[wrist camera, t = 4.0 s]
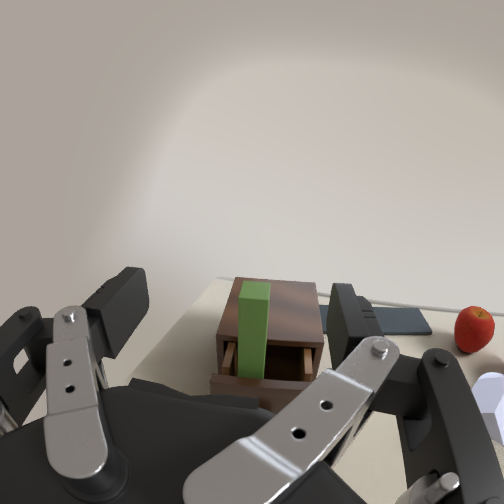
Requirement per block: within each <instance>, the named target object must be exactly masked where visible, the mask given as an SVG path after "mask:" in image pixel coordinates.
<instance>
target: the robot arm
mask: <svg viewBox="0 0 504 504" xmlns="http://www.w3.org/2000/svg"><path fill="white" fill-rule="evenodd" d="M148 308H149V295H148V289H147V282H146V275H145V271H144V269H142V268H136V267H126V268H125V269H124V270H122V271H121V272H120V273H119V274H118V275H117V276H115V277H113V278H111V279H109V280H108V281H106V282H105V283H104V284H103V285H102V286H101V288H99V289H98V290H97V291H96V292H95V293H94V294H93V295H91V296H90V298H88V299H87V300H86V301H85V302H84V304H82V305H81V306H68V307H65V308H63V309H61V310H59V311H58V312H57V313H56V314H55V316H54V318H42V317H41V314H40V311H39V309H38V308H37V307H32V306H30V307H24V308H22V309H20V310H18V311H17V312H15V313H14V314H13V315H12V316H11V317H10V318H9V319H8V320H7V321H6V322H5V323H4V324H3V325H2V326H1V327H0V504H367V503H366V502H365V501H364V500H363V499H362V498H361V497H359V496H358V495H357V494H356V493H355V492H354V491H353V490H352V489H351V488H350V487H349V486H348V485H347V484H346V483H345V482H344V481H343V480H342V479H341V478H340V477H339V476H338V475H337V474H336V473H335V472H334V471H333V470H332V469H333V468H334V466H335V465H336V464H337V463H338V461H339V460H340V459H341V457H342V456H343V454H344V453H345V451H346V450H347V448H348V447H349V446H350V444H351V443H352V442H353V440H354V439H355V438H356V436H357V435H358V434H359V432H360V431H361V430H362V428H363V427H364V425H365V424H366V423H367V421H368V420H369V418H370V417H371V415H372V414H373V413H374V411H377V412H382V413H387V414H392V415H396V419H397V425H398V430H399V435H400V441H401V447H402V453H403V460H404V467H405V474H406V482H407V491H406V492H404V493H403V494H402V495H401V496H400V497H399V498H398V500H397V501H396V503H395V504H504V479H503V475H502V472H501V468H500V465H499V462H498V459H497V456H496V453H495V450H494V447H493V444H492V441H491V438H490V435H489V433H488V430H487V427H486V425H485V422H484V420H483V417H482V414H481V412H480V410H479V407H478V405H477V402H476V400H475V398H474V395H473V393H472V391H471V389H470V386H469V384H468V382H467V380H466V378H465V376H464V373H463V371H462V369H461V367H460V365H459V363H458V361H457V359H456V358H455V357H454V356H453V355H452V354H451V353H449V352H448V351H446V350H443V349H438V348H432V349H429V350H427V351H425V352H424V354H423V356H422V358H421V359H419V358H414V357H409V356H405V355H402V354H400V350H399V348H398V346H397V345H396V344H395V343H394V342H393V341H391V340H389V339H387V338H385V337H384V335H383V332H382V330H381V327H380V325H379V322H378V320H377V319H376V315H375V313H374V310H373V308H372V305H371V303H370V302H369V301H368V300H367V299H365V298H364V297H363V296H356V294H355V292H354V289H353V287H352V285H351V284H344V283H333V286H332V290H331V296H330V302H329V307H328V313H327V320H326V330H327V337H328V343H329V349H330V356H331V363H332V369H331V368H327V369H326V370H324V371H323V372H322V373H321V374H320V375H319V376H318V377H317V378H316V379H315V380H314V381H313V382H312V383H311V384H310V385H309V386H308V387H307V388H306V389H305V390H304V391H302V392H301V393H300V394H299V395H298V396H297V397H296V398H295V399H294V400H293V401H292V402H290V403H289V404H288V405H287V406H286V407H285V408H284V409H283V410H281V411H280V412H279V413H278V414H277V415H276V414H274V413H272V412H270V411H268V410H265V409H262V408H259V407H258V404H259V398H255V397H245V396H235V395H227V394H223V395H204V396H189V395H186V394H184V393H181V392H179V391H176V390H174V389H171V388H169V387H167V386H165V385H162V384H159V383H154V382H150V381H145V380H141V379H136V378H132V379H131V381H130V383H129V385H128V386H117V387H111V388H109V387H108V383H107V379H106V375H105V370H104V366H103V363H102V360H101V359H102V358H103V357H108V358H112V359H115V358H116V357H117V355H118V353H119V352H120V351H121V349H122V348H123V346H124V345H125V343H126V342H127V340H128V339H129V338H130V336H131V335H132V333H133V332H134V330H135V329H136V327H137V326H138V325H139V323H140V322H141V320H142V319H143V317H144V316H145V315H146V313H147V311H148ZM23 348H24V350H25V352H26V354H27V356H28V358H29V360H28V361H27V362H26V364H25V365H24V366H23V367H22V369H21V370H20V371H19V373H18V374H16V372H15V370H14V367H13V362H14V359H15V357H16V356H17V355H18V354H19V352H20V351H21V350H22V349H23ZM45 389H46V393H47V415H46V416H44V417H42V418H40V419H37V420H35V421H33V422H31V423H28V424H26V425H23V426H22V424H23V422H24V421H25V419H26V418H27V416H28V415H29V413H30V411H31V409H32V408H33V407H34V405H35V404H36V402H37V401H38V399H39V398H40V396H41V395H42V393H43V392H44V390H45Z"/></svg>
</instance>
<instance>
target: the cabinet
mask: <svg viewBox="0 0 504 504" xmlns="http://www.w3.org/2000/svg"><path fill="white" fill-rule="evenodd" d="M243 281H253V282H267V283H271V286H270V301H269V315H268V329H267V342H266V345H278V346H294V347H311V357H312V372H313V374H312V378H311V382H313V381H314V380H315V379H316V377H317V372H318V368H319V364H320V360H321V355H322V351H323V347H324V337H323V329H322V322H321V316H320V309H319V303H318V296H317V290H316V284H315V283H312V282H296V281H282V280H281V281H280V280H268V279H254V278H242V277H235V280H234V283H233V286H232V289H231V292H230V295H229V298H228V301H227V304H226V307H225V310H224V313H223V316H222V319H221V322H220V324H219V327H218V330H217V333H216V339H217V340H216V343H217V362H218V374H219V375H222V364H223V361H224V357H225V353H226V350H227V346H228V342H229V341H233V342H238V297H239V294H240V290H241V287H242V283H243Z"/></svg>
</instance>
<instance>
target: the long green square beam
mask: <svg viewBox="0 0 504 504" xmlns="http://www.w3.org/2000/svg"><path fill="white" fill-rule="evenodd" d="M270 286H271V283H267V282H253V281H243V283H242V287H241V290H240V294H239V297H238V377H246V378H256V379H264V367H265V355H266V342H267V329H268V315H269V301H270Z"/></svg>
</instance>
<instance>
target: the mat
mask: <svg viewBox="0 0 504 504" xmlns="http://www.w3.org/2000/svg"><path fill="white" fill-rule="evenodd" d="M328 307H329V305H319V309H320V316H321V322H322V329H323V333H324V334H327V330H326V320H327V313H328ZM372 308H373V310H374V313H375V315H376V319H377V320H378V322H379V325H380V327H381V330H382V332H383V335H419V334H432V330H431V328H430V327H429V325H428V323H427V322H426V320H425V318H424V317H423V315H422V313H421V312H420V310H419V309H418V308H389V307H372Z"/></svg>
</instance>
